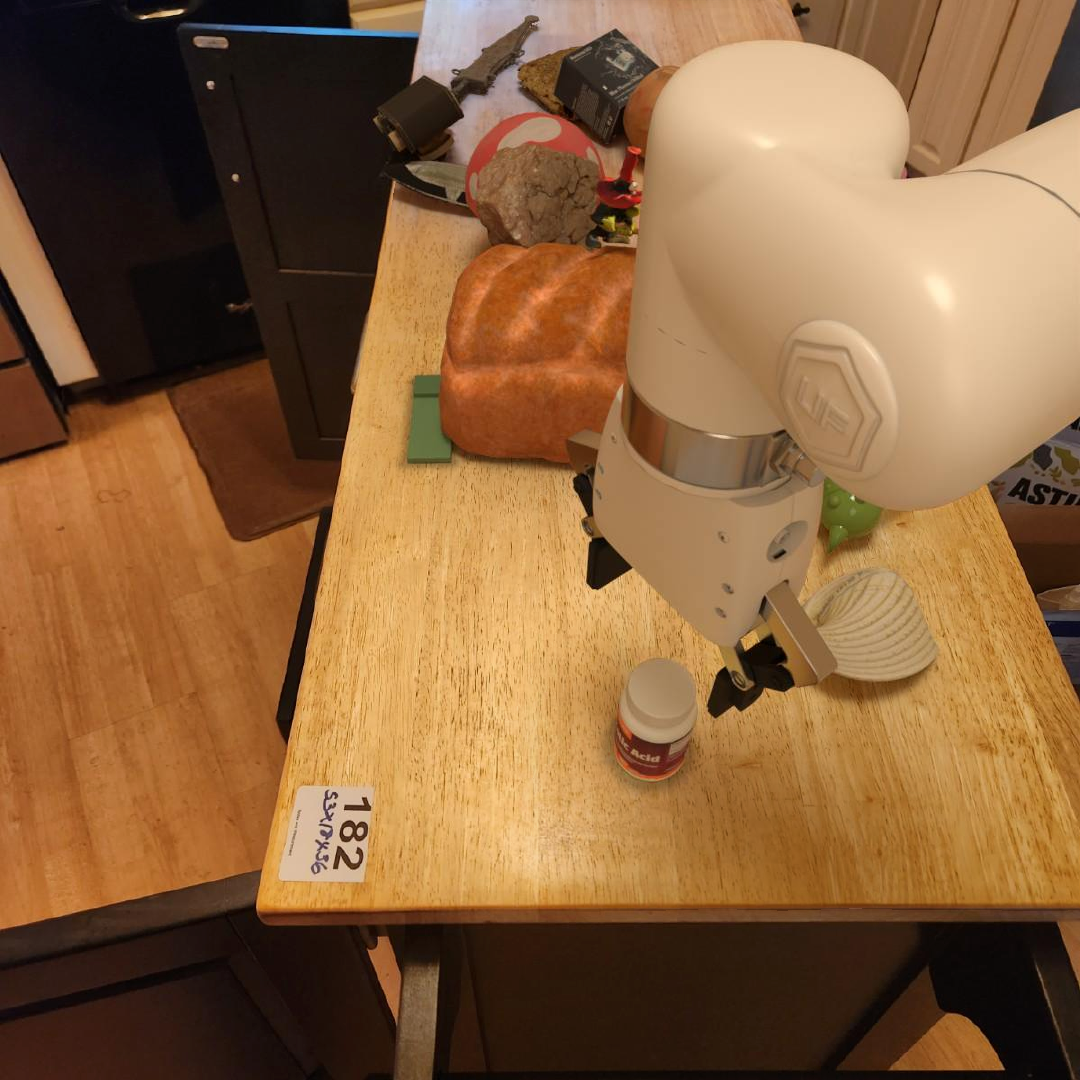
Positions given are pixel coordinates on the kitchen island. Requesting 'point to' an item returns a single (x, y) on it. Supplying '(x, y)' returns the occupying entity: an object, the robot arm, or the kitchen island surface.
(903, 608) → the seashell
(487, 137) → the decorative mushroom
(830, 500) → the character figure
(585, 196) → the rock
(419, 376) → the green block
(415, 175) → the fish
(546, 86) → the pastry
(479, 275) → the bread
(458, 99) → the decorative dagger
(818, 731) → the kitchen island surface
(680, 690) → the pill bottle
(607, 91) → the box
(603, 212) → the toy figure
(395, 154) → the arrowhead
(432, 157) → the camera
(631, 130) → the onion
